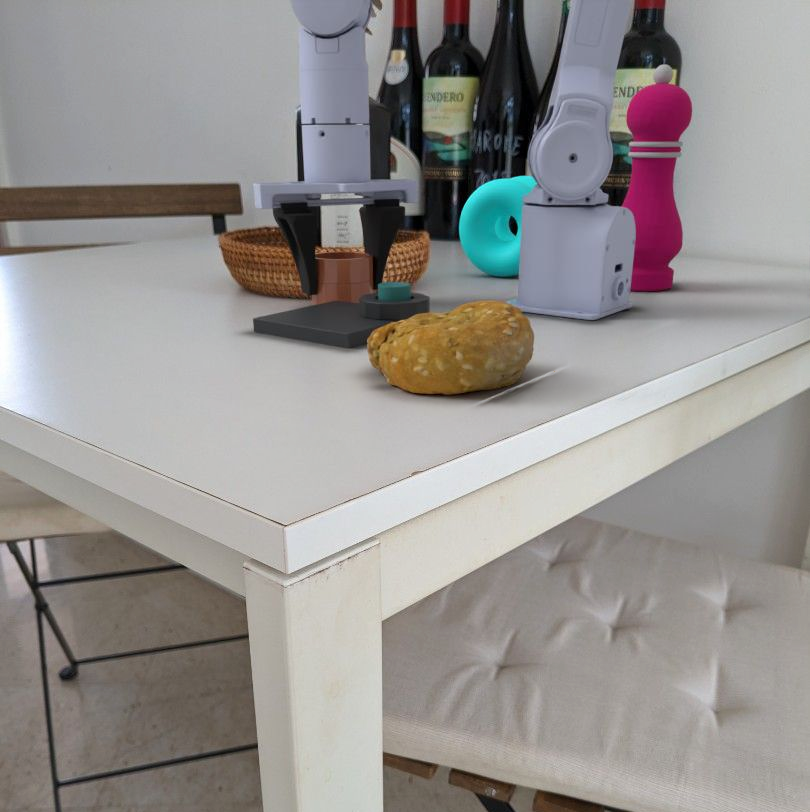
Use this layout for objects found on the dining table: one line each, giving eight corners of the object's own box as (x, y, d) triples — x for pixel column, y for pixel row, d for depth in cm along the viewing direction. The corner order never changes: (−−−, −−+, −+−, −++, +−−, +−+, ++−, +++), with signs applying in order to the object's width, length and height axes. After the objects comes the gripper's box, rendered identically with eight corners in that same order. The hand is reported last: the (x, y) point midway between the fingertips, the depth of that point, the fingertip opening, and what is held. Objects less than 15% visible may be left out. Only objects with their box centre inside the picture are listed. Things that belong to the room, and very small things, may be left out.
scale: (441, 327, 70) (442, 295, 69) (357, 351, 62) (356, 316, 61) (342, 312, 76) (341, 283, 75) (253, 333, 68) (251, 301, 67)
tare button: (417, 300, 69) (417, 283, 68) (397, 305, 67) (397, 287, 66) (391, 297, 70) (391, 280, 70) (371, 302, 68) (371, 284, 68)
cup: (385, 305, 79) (384, 254, 77) (345, 314, 75) (343, 261, 73) (339, 299, 82) (338, 250, 80) (299, 307, 78) (296, 256, 76)
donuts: (565, 268, 100) (572, 175, 95) (541, 281, 91) (547, 180, 87) (484, 264, 103) (487, 174, 99) (454, 275, 95) (456, 178, 91)
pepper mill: (685, 284, 89) (714, 64, 80) (664, 294, 83) (692, 60, 75) (618, 279, 92) (639, 68, 84) (593, 288, 87) (613, 63, 78)
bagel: (428, 352, 62) (428, 284, 60) (561, 377, 55) (567, 301, 53) (332, 380, 55) (329, 304, 53) (473, 412, 48) (475, 327, 46)
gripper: (266, 124, 66) (278, 304, 72) (433, 124, 72) (432, 291, 77) (241, 125, 72) (254, 291, 78) (398, 125, 77) (399, 280, 83)
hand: (341, 290), depth 78 cm, fingers closed on cup, 5 cm apart
